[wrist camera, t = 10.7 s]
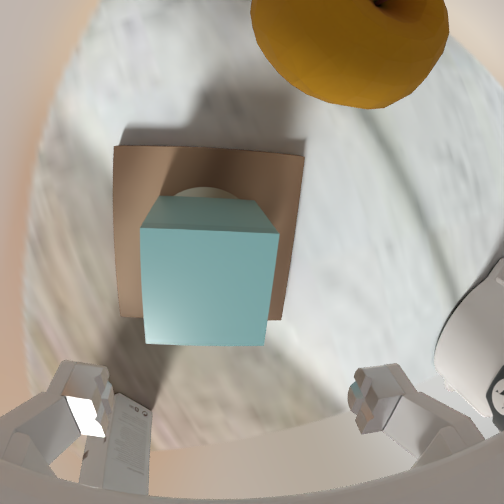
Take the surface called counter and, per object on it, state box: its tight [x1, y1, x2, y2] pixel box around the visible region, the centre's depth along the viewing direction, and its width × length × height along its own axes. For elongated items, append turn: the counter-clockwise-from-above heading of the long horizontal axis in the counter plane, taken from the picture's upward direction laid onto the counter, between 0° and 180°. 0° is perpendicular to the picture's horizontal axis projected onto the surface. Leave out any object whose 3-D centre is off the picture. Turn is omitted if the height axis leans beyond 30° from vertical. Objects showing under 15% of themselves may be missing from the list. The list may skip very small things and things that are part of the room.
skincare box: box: [79, 393, 152, 495], centre depth 22 cm, size 6×4×12 cm
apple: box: [250, 0, 449, 109], centre depth 13 cm, size 10×10×12 cm
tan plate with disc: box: [113, 145, 305, 320], centre depth 20 cm, size 12×12×4 cm
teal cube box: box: [140, 196, 280, 346], centre depth 18 cm, size 6×6×7 cm
